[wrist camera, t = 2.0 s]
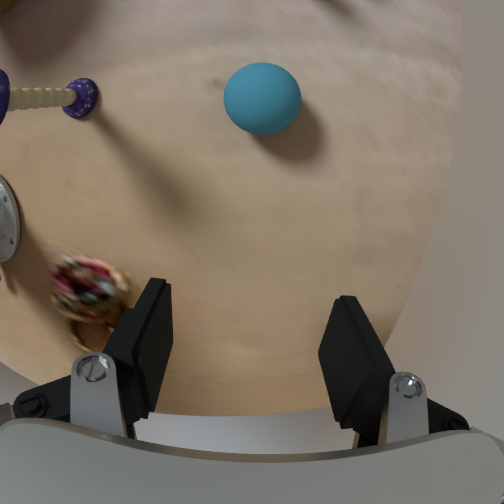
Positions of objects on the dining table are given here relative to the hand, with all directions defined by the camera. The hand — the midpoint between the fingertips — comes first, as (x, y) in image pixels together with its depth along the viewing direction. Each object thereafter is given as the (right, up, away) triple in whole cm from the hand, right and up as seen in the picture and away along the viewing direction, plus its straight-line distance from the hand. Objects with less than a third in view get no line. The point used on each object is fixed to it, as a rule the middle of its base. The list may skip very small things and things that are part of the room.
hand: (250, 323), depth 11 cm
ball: (+1, +15, +10) cm, 17 cm away
